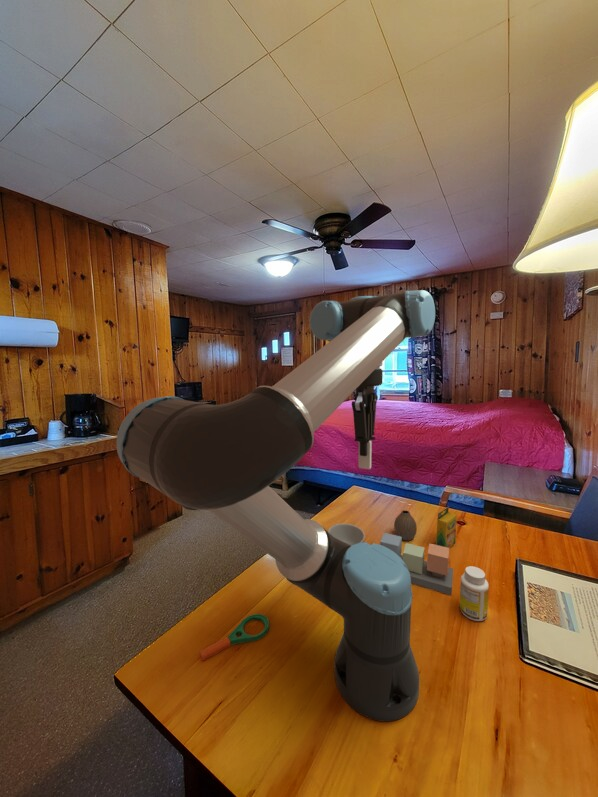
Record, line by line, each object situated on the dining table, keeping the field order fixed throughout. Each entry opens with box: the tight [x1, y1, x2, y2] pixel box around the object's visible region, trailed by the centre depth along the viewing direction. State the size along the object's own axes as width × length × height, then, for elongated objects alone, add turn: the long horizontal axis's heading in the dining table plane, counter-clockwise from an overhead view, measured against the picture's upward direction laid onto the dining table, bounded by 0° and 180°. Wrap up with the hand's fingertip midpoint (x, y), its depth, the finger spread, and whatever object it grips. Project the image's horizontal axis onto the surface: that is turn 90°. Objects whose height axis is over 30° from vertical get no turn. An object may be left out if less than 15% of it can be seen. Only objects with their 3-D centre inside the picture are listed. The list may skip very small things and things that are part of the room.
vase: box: [393, 509, 418, 542], centre depth 103 cm, size 7×7×9 cm
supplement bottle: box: [459, 565, 490, 622], centre depth 73 cm, size 6×6×10 cm
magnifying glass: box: [198, 613, 270, 661], centre depth 68 cm, size 15×6×2 cm, turn 125°
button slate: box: [379, 532, 403, 557], centre depth 89 cm, size 5×5×5 cm
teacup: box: [327, 522, 366, 546], centre depth 94 cm, size 14×11×8 cm
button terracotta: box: [426, 543, 450, 576], centre depth 83 cm, size 5×5×5 cm
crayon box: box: [435, 506, 458, 550], centre depth 98 cm, size 7×3×12 cm, turn 131°
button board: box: [400, 554, 454, 596], centre depth 86 cm, size 8×19×6 cm, turn 62°
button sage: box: [402, 542, 426, 574], centre depth 86 cm, size 5×5×5 cm
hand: (364, 467), depth 76 cm, fingers closed
